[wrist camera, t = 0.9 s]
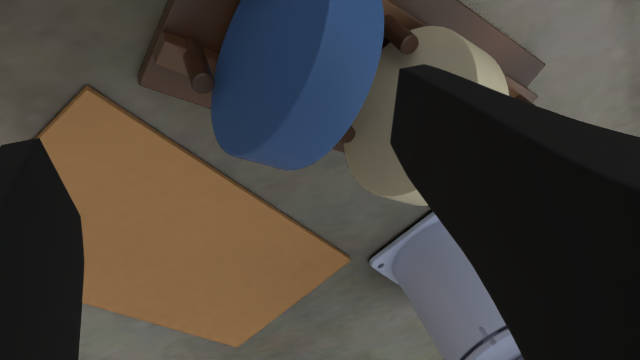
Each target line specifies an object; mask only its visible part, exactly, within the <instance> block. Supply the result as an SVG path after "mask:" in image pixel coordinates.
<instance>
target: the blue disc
mask: <svg viewBox="0 0 640 360" xmlns="http://www.w3.org/2000/svg"><path fill="white" fill-rule="evenodd" d="M383 38H384V10H383V4H382V0H241V1H240V3H239V5H238V7H237V9H236V11H235V13H234V15H233V18H232V20H231V22H230V25H229V27H228V30H227V33H226V35H225V38H224V41H223V44H222V47H221V51H220V54H219V58H218V62H217V66H216V71H215V75H214V80H215V86H214V88H213V90H212V100H211V115H212V125H213V130H214V134H215V137H216V139H217V142H218V143H219V145H220V147H221V148H222V149H223V150H224V151H225V152H226V153H228V154H230V155H231V156H234V157H238V158H242V159H245V160H249V161H253V162H256V163H260V164H264V165H267V166H271V167H275V168H278V169H283V170H297V169H301V168H304V167H307V166H309V165H311V164H313V163H315V162H316V161H317V160H319V159H320V158H322V157H323V156H324V155H325V154H327V153H328V152H329V151H330V150H331V149H332V148H333V147H334V146H335V145H336V144H337V143H338V142H339V141H340V139H341V138H342V137H343V136H344V134H345V133H346V132H347V130H348V129H349V128H350V126H351V125H352V123H353V121H354V120H355V118H356V117H357V115H358V113H359V111H360V109H361V107H362V106H363V104H364V102H365V100H366V97H367V95H368V93H369V90H370V88H371V86H372V83H373V80H374V77H375V74H376V71H377V68H378V64H379V60H380V56H381V51H382V44H383Z"/></svg>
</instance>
